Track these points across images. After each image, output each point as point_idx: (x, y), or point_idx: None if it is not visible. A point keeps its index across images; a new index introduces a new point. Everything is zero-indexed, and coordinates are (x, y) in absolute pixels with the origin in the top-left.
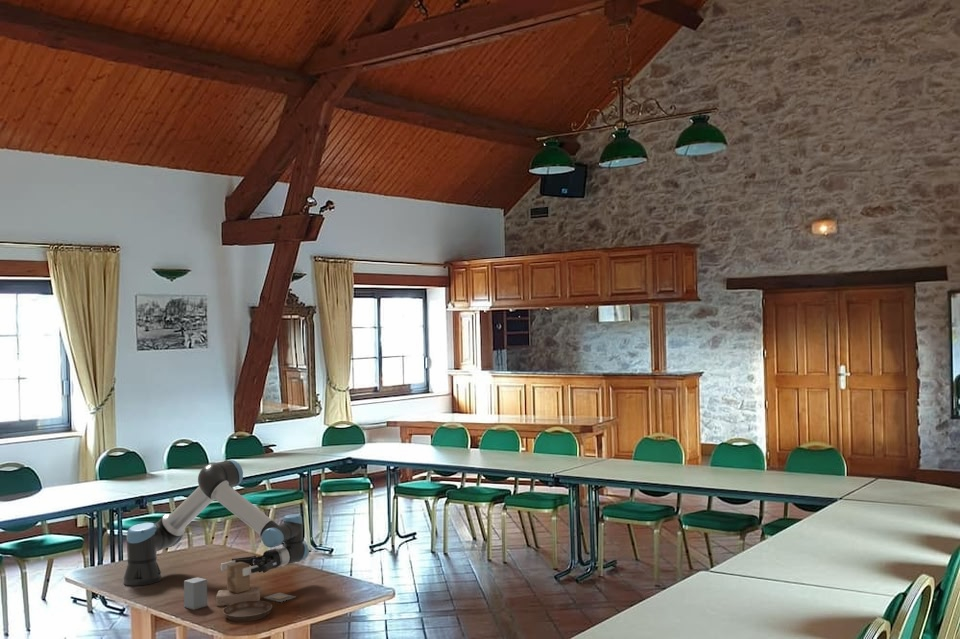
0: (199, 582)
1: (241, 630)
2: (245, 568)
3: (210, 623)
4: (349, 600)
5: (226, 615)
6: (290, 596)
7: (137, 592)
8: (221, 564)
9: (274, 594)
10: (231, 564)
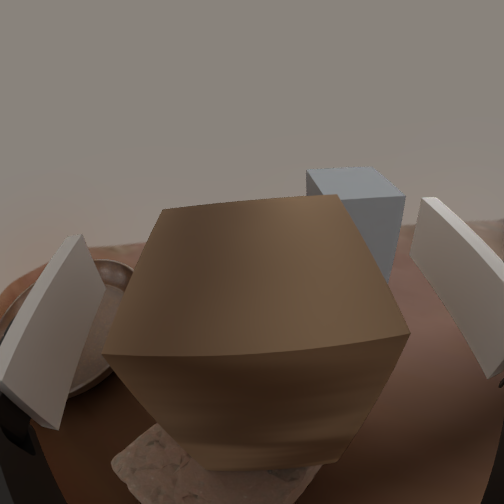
0: (314, 186)
1: (37, 268)
2: (60, 249)
3: (134, 249)
4: None
5: (98, 264)
6: None
7: None
8: (424, 202)
9: None
10: (310, 212)
